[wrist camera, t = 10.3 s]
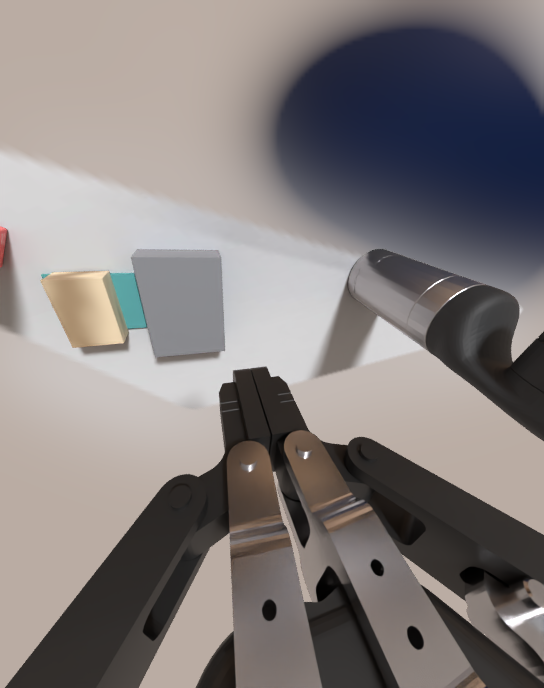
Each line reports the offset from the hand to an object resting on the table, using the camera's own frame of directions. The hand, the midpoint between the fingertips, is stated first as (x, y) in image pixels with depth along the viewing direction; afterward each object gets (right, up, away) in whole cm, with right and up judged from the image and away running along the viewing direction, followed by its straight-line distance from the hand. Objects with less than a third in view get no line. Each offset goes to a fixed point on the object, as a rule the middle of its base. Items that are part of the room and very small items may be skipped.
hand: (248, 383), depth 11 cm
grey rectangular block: (-11, +8, +24) cm, 28 cm away
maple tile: (-22, +6, +20) cm, 31 cm away
